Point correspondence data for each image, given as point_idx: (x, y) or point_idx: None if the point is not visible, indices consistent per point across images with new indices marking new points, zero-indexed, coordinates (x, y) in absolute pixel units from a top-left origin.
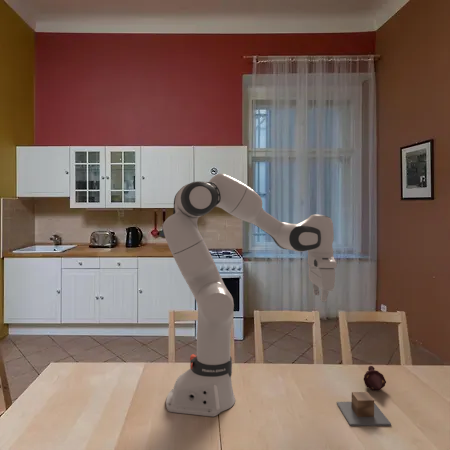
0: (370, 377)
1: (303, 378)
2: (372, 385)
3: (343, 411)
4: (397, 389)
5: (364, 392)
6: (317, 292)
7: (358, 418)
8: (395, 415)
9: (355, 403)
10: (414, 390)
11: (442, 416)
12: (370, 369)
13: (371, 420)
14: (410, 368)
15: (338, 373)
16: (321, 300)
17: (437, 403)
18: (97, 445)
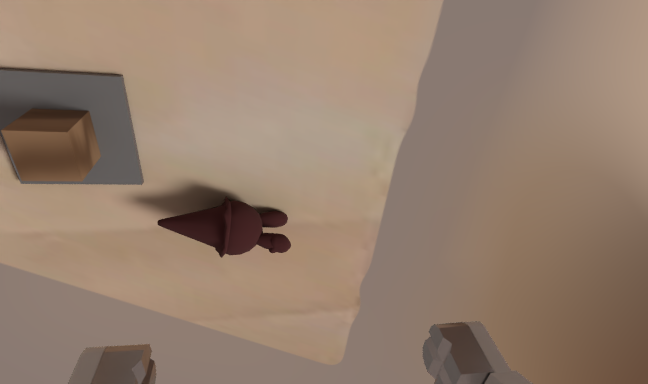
0: (213, 223)
1: (309, 14)
2: (194, 212)
3: (53, 75)
4: (230, 259)
5: (75, 171)
6: (438, 372)
7: (21, 107)
8: (86, 209)
9: (36, 122)
10: (226, 287)
11: (108, 292)
12: (266, 240)
13: None
14: (337, 316)
15: (333, 152)
16: (103, 350)
17: (167, 304)
18: None
